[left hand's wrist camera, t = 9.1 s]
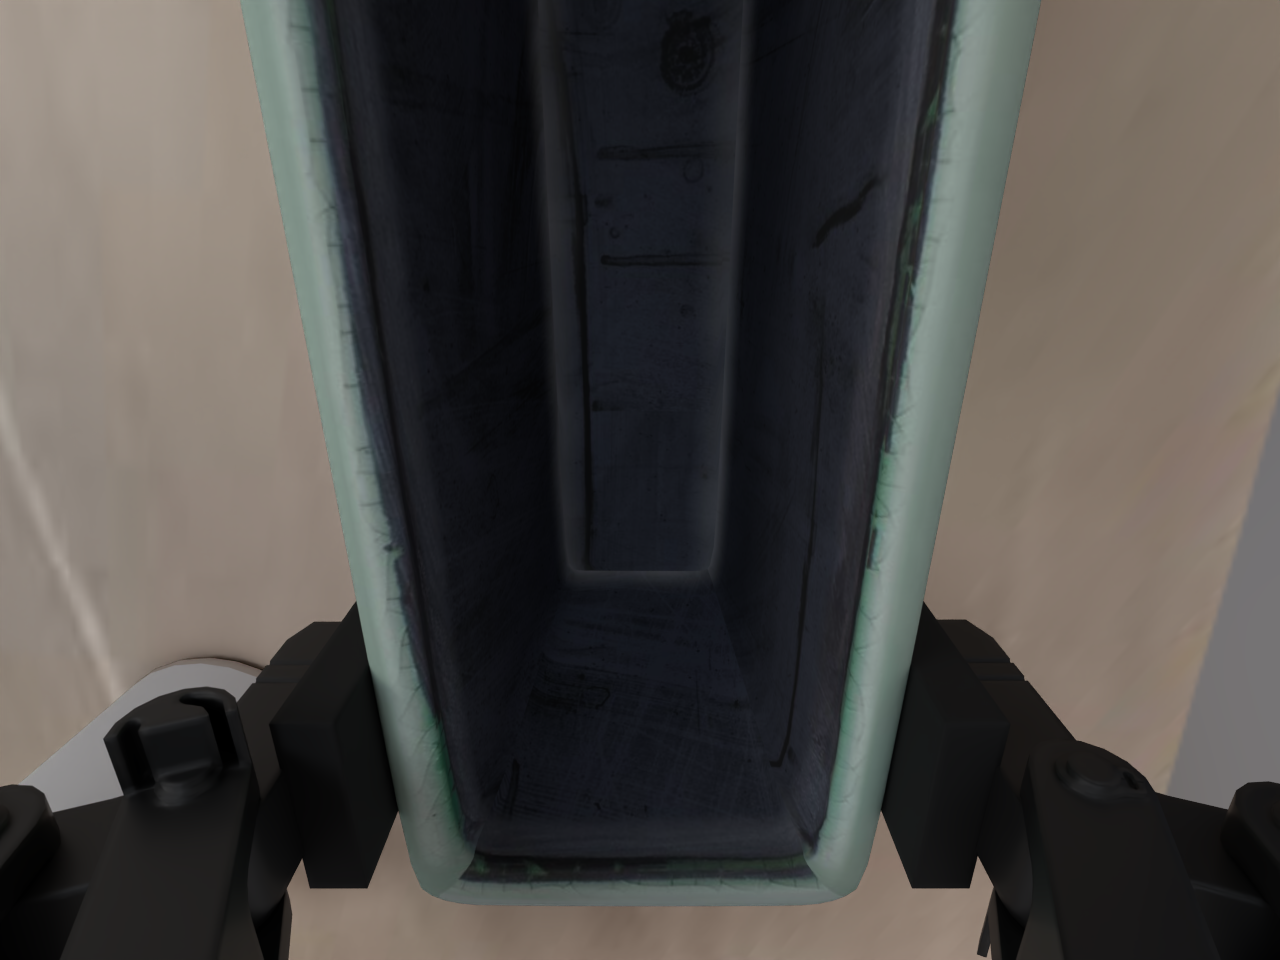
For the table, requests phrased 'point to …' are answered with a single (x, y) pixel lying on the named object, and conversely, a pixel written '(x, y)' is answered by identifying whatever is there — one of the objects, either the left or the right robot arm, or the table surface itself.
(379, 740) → the left robot arm
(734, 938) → the table surface
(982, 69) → the planter
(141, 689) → the mug
